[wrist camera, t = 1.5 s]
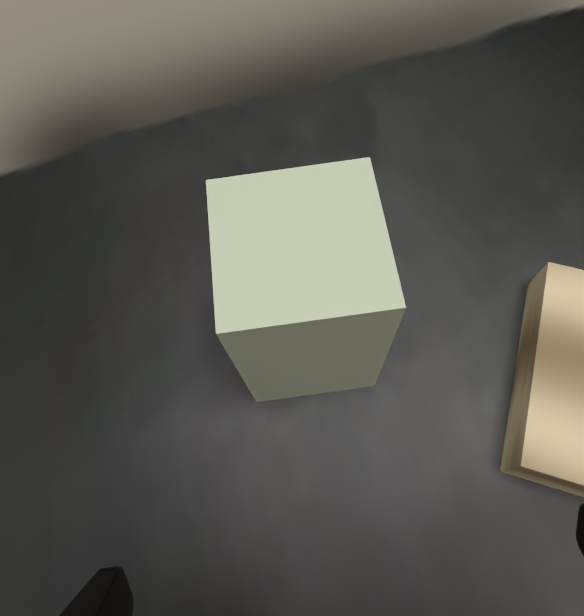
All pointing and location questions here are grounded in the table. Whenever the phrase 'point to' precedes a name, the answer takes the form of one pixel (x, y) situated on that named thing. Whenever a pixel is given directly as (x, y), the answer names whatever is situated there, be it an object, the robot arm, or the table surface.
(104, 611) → the robot arm
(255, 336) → the sage block
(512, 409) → the birch block
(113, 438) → the table surface
